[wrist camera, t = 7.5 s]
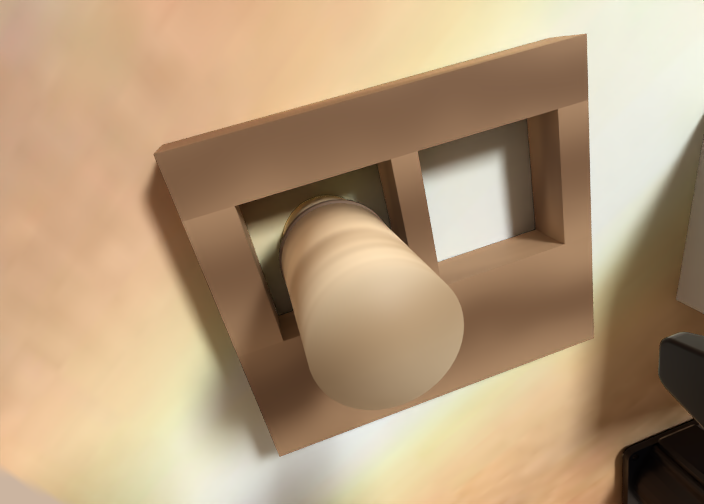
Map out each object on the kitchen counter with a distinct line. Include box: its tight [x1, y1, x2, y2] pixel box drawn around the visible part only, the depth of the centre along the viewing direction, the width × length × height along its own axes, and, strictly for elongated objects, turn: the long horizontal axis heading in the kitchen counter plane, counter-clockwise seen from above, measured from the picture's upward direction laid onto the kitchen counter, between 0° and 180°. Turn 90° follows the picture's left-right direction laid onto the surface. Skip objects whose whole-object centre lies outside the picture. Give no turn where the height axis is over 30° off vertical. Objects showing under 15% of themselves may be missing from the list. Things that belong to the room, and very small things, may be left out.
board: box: [154, 34, 594, 456], centre depth 19 cm, size 13×15×2 cm
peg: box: [279, 195, 464, 410], centre depth 15 cm, size 4×4×8 cm
